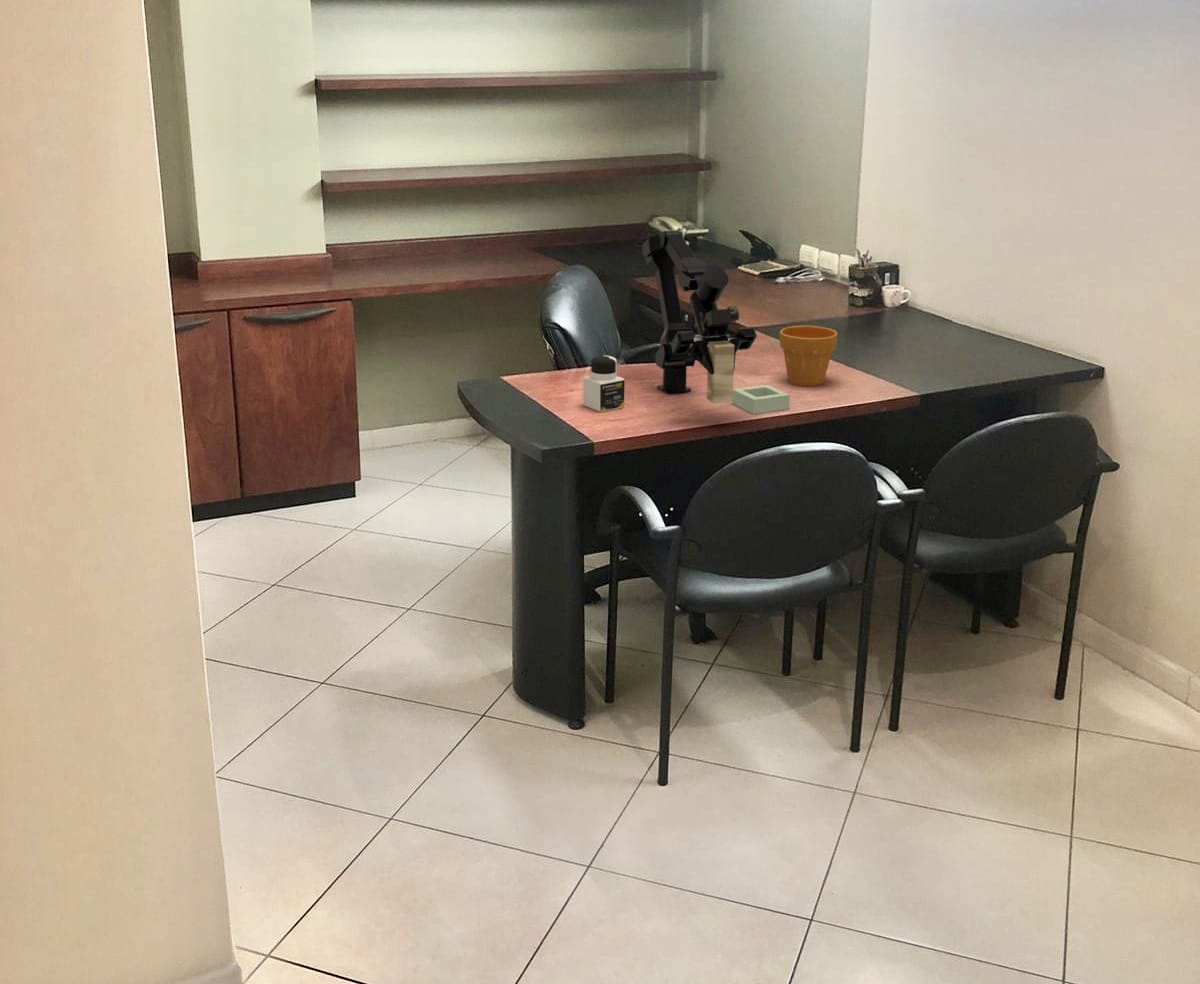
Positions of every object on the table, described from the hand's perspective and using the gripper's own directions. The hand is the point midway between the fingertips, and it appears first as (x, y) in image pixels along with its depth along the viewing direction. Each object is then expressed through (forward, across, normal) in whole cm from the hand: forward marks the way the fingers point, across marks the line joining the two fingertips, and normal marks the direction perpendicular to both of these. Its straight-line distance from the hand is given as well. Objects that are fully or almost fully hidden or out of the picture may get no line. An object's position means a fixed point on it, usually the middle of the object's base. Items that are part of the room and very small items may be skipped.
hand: (722, 373), depth 272 cm
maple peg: (+4, 0, +6) cm, 7 cm away
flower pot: (-11, +35, +29) cm, 47 cm away
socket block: (0, +15, +17) cm, 22 cm away
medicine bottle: (-6, -21, +24) cm, 33 cm away
